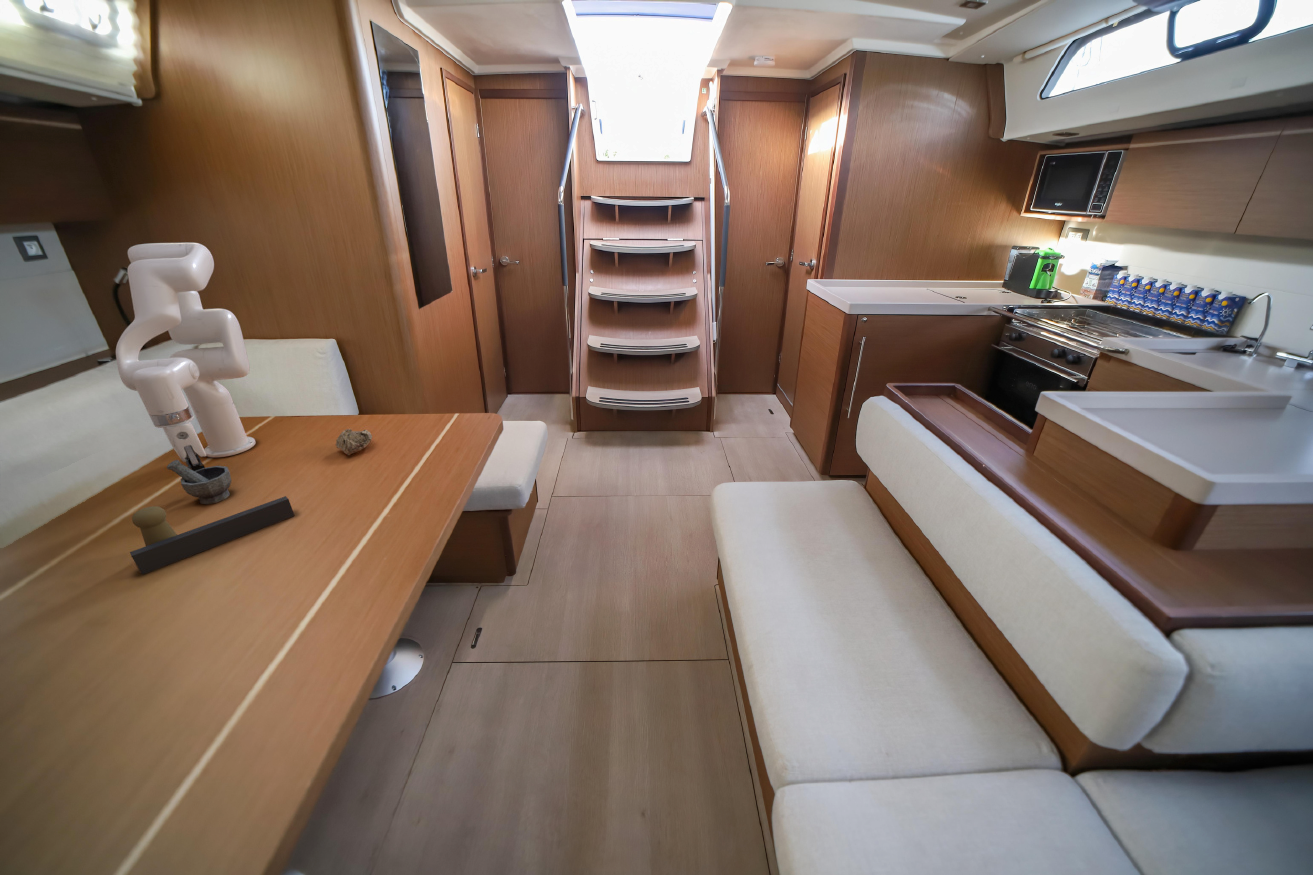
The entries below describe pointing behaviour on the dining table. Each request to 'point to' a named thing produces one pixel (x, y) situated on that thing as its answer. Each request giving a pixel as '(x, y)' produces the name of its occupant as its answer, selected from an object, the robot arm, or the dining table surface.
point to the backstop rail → (211, 535)
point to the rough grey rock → (353, 440)
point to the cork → (153, 524)
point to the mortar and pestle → (204, 482)
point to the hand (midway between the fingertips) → (201, 478)
